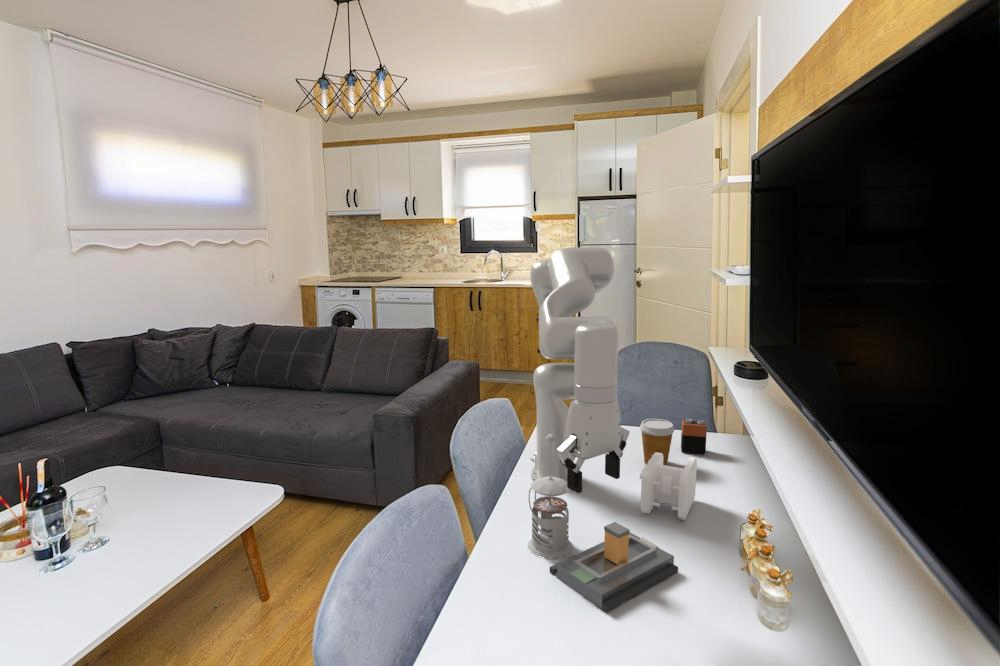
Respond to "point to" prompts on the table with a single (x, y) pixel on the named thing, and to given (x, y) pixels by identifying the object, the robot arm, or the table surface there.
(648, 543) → the panel
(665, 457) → the disposable coffee cup
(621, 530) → the lever
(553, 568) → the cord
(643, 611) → the table surface
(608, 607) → the dark grey thin bar
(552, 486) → the french press
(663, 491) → the cable organizer
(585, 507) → the table surface
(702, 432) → the battery
